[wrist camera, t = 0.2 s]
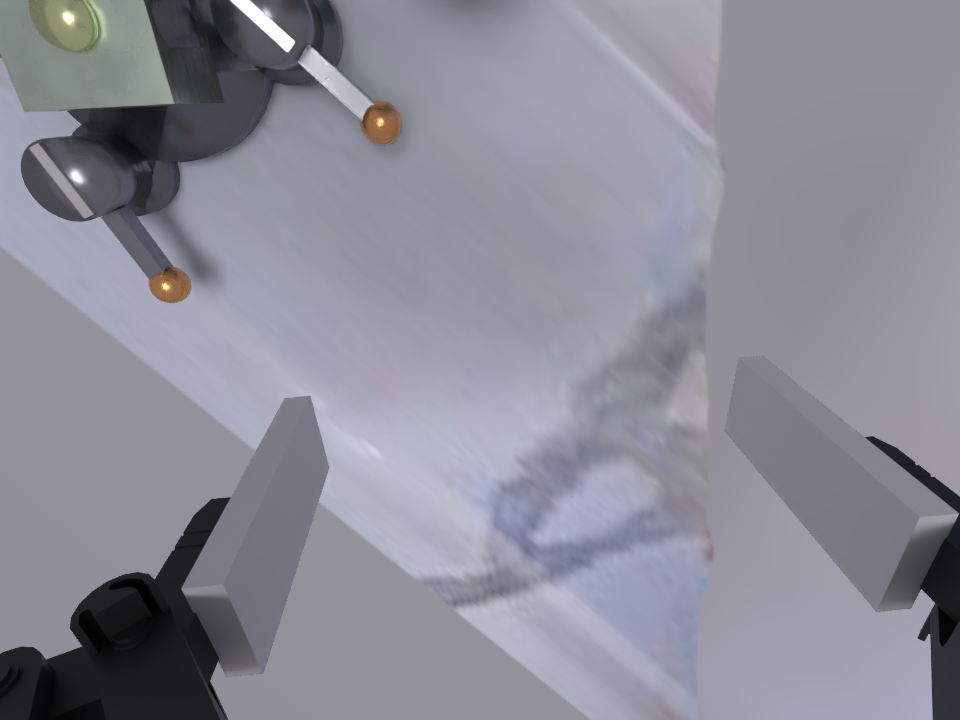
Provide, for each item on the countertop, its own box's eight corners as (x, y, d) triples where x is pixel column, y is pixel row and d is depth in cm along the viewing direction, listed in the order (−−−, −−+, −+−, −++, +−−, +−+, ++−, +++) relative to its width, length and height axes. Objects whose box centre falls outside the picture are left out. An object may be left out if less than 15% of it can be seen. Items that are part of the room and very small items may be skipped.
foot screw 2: (231, 30, 32) (191, 18, 27) (272, -40, 30) (238, -66, 25) (380, 162, 36) (369, 172, 31) (423, 106, 34) (419, 107, 29)
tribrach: (-49, -187, 28) (-264, -311, 20) (308, -199, 29) (250, -325, 20) (106, 213, 38) (8, 246, 30) (367, 198, 39) (344, 225, 30)
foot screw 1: (61, 151, 34) (-3, 159, 29) (119, 120, 34) (64, 124, 29) (174, 298, 39) (136, 326, 35) (226, 274, 39) (195, 300, 34)
